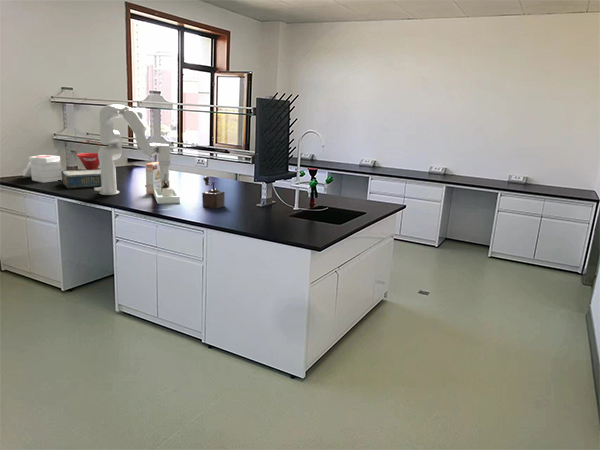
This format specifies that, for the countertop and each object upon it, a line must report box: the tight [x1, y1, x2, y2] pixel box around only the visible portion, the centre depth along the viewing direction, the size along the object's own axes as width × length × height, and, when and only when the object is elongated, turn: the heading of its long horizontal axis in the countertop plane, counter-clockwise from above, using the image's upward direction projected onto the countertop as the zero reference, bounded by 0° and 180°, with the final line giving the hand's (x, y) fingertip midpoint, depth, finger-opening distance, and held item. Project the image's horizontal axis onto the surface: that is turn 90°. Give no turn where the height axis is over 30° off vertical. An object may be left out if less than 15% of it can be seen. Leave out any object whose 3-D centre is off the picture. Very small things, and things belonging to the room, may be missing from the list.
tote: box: [153, 187, 181, 205], centre depth 304 cm, size 14×30×5 cm, turn 22°
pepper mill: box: [201, 176, 226, 210], centre depth 291 cm, size 16×11×18 cm
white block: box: [162, 187, 173, 197], centre depth 296 cm, size 6×6×8 cm
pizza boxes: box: [22, 154, 63, 183], centre depth 353 cm, size 19×30×18 cm, turn 58°
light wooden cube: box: [161, 179, 171, 192], centre depth 307 cm, size 5×5×8 cm
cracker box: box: [145, 161, 161, 195], centre depth 324 cm, size 14×6×21 cm, turn 168°
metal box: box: [61, 168, 101, 189], centre depth 342 cm, size 21×32×10 cm, turn 124°
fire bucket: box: [75, 140, 103, 170], centre depth 365 cm, size 22×20×30 cm
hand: (165, 190), depth 308 cm, fingers closed on light wooden cube, 5 cm apart
